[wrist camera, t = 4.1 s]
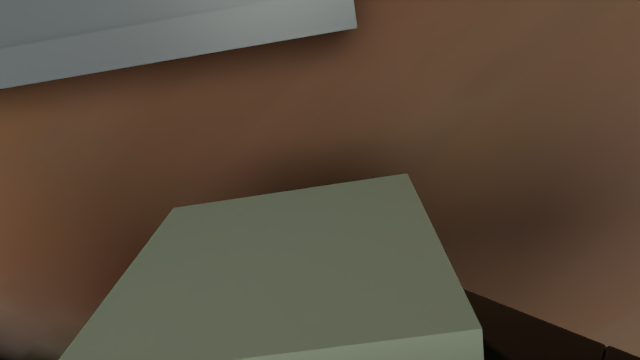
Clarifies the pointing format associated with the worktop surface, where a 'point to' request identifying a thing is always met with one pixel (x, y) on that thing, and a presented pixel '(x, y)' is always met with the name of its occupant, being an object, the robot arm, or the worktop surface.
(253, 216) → the green cube
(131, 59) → the tote
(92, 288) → the worktop surface
